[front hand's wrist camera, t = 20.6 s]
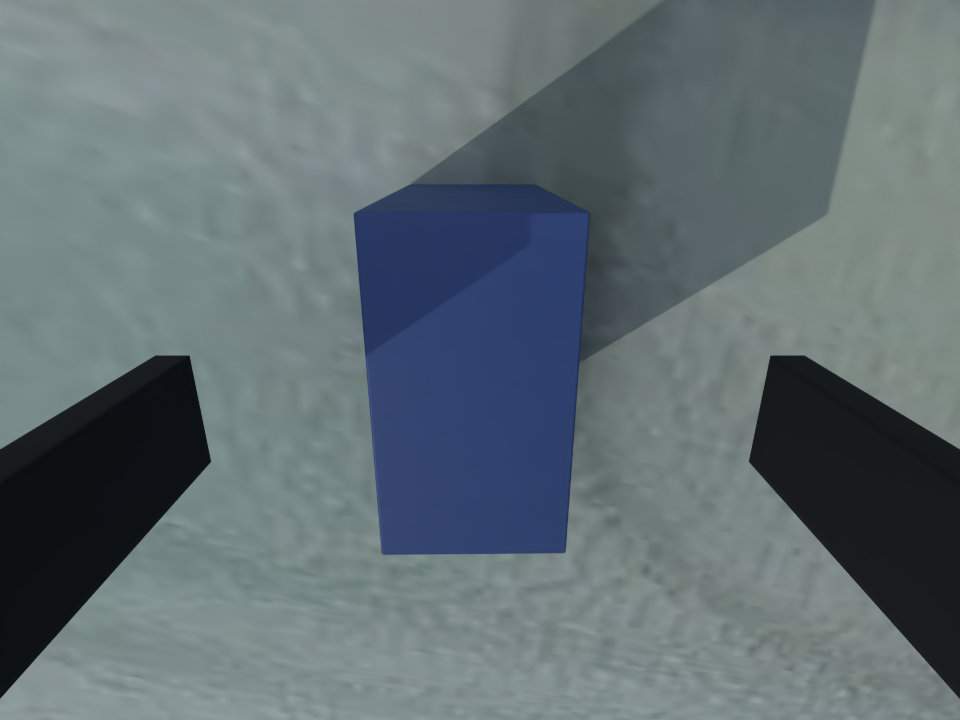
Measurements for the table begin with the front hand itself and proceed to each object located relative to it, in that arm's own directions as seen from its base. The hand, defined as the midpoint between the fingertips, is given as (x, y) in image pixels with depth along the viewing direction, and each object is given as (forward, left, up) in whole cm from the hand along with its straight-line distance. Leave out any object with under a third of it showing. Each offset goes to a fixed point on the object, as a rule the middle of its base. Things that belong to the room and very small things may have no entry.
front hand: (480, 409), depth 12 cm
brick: (0, 0, -10) cm, 10 cm away
